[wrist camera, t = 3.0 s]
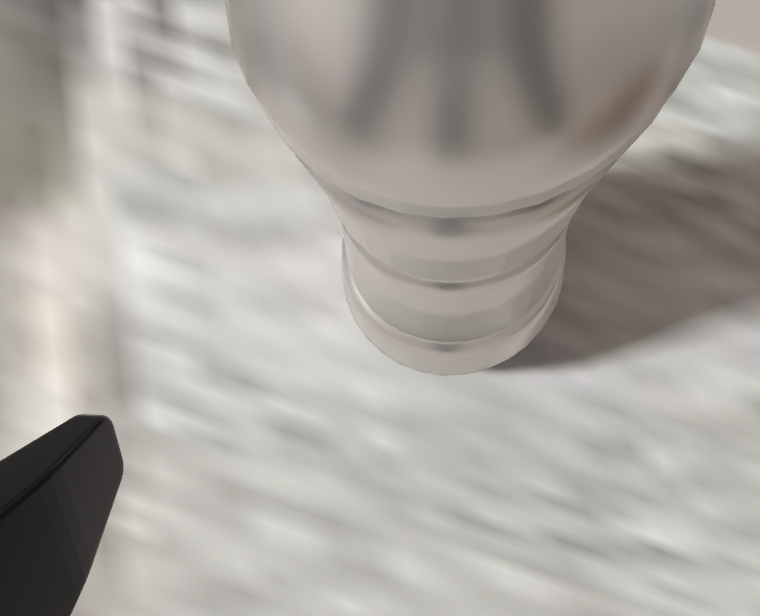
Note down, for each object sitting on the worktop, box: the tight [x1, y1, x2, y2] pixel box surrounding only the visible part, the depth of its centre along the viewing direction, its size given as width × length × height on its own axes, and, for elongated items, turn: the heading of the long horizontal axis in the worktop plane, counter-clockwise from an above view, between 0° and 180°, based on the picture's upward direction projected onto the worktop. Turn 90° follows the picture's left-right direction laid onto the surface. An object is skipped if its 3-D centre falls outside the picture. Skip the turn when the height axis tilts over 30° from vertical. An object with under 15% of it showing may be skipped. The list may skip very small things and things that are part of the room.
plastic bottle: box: [225, 0, 715, 376], centre depth 14 cm, size 6×7×20 cm
